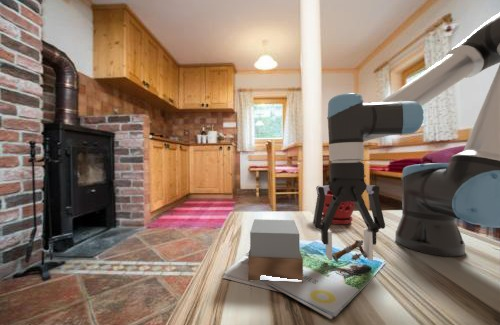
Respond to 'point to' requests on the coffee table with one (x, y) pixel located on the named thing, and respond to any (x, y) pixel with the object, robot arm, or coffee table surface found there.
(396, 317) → the coffee table surface
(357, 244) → the wooden post with brackets
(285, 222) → the tower top
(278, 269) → the tower bottom
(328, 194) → the plant pot
